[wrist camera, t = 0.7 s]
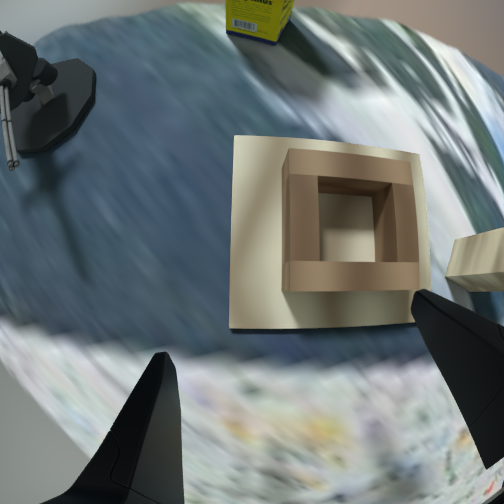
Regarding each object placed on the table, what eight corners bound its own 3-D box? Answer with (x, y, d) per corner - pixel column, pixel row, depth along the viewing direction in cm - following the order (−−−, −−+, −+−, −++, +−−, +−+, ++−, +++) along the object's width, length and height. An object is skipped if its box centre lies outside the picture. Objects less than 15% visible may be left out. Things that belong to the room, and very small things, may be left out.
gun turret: (32, 228, 24) (-62, 196, 11) (6, 102, 25) (-48, 53, 13) (134, 155, 25) (70, 70, 12) (83, 44, 27) (45, -24, 14)
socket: (416, 156, 26) (440, 138, 22) (426, 320, 24) (455, 324, 20) (234, 138, 26) (233, 111, 21) (229, 327, 24) (227, 336, 19)
